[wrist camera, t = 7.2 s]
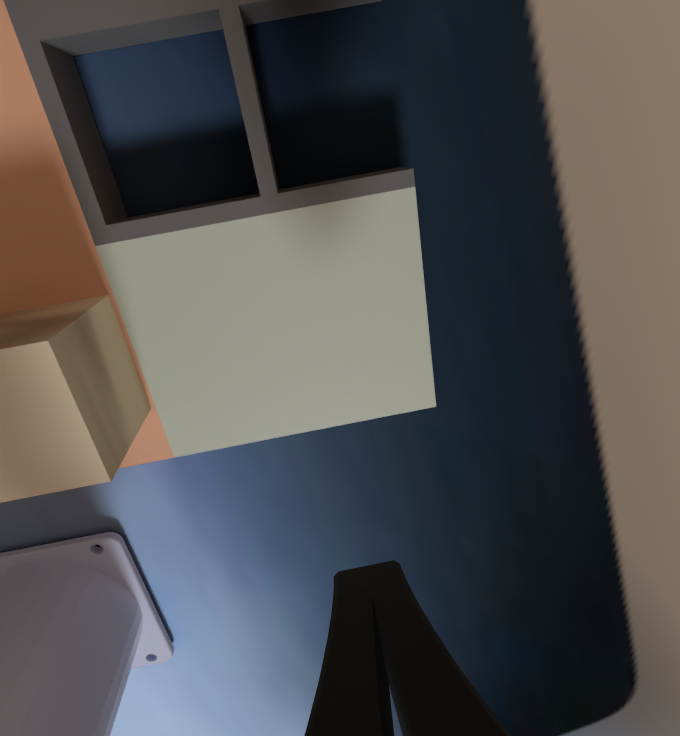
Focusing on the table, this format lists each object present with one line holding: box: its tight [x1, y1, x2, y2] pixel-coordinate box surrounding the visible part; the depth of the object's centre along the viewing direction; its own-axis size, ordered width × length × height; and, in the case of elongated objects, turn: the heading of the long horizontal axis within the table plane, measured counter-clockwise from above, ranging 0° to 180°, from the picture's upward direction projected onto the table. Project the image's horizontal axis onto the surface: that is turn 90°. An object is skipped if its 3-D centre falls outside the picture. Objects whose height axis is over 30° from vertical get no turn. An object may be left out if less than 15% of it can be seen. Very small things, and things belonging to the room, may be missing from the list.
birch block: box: [0, 295, 151, 503], centre depth 13 cm, size 4×4×4 cm
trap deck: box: [0, 0, 436, 468], centre depth 15 cm, size 14×14×2 cm
